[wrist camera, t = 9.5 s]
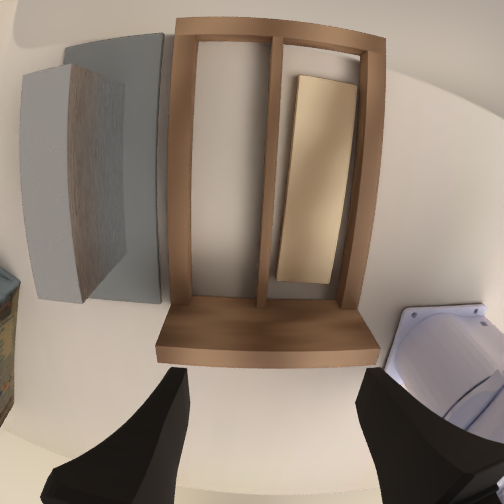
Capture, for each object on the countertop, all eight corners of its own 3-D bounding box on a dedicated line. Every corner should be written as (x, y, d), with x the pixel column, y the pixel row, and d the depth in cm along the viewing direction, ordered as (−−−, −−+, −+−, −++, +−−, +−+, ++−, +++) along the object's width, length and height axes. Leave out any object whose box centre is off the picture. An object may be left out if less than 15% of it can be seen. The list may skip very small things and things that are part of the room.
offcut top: (353, 87, 17) (357, 85, 17) (326, 279, 22) (329, 283, 21) (297, 76, 17) (299, 74, 17) (275, 276, 22) (276, 280, 21)
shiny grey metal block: (125, 84, 17) (71, 63, 10) (126, 253, 20) (82, 303, 14) (86, 89, 16) (23, 75, 10) (90, 251, 20) (38, 298, 14)
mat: (164, 34, 16) (162, 32, 16) (161, 301, 22) (160, 304, 22) (68, 49, 16) (65, 47, 15) (76, 294, 22) (74, 296, 21)
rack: (377, 43, 16) (421, 17, 11) (348, 314, 23) (375, 364, 17) (180, 25, 16) (157, -14, 10) (176, 309, 22) (157, 362, 17)
